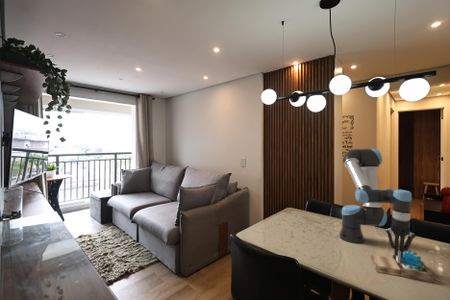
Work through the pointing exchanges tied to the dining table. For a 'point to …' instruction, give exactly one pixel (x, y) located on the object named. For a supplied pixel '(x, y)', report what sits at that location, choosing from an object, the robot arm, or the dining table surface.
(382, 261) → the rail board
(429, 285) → the dining table surface
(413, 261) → the gear
